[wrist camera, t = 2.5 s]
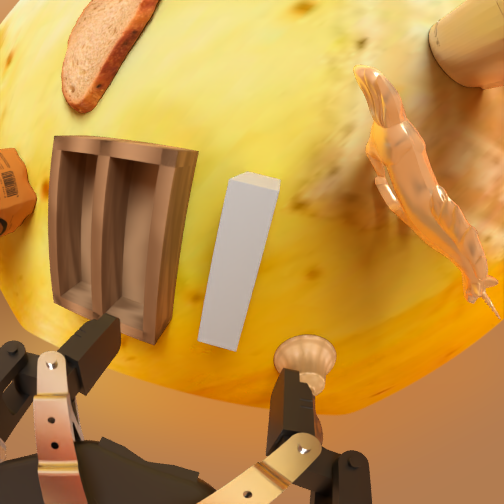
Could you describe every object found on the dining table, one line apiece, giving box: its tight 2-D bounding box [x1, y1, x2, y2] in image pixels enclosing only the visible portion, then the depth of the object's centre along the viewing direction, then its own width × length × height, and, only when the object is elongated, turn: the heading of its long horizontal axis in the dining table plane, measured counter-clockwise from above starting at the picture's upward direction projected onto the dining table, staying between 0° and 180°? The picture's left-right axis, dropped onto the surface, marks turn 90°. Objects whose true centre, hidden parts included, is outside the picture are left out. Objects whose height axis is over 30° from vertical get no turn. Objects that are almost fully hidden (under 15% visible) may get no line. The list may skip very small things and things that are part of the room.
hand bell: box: [274, 335, 336, 446], centre depth 28 cm, size 8×8×16 cm
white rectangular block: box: [198, 171, 281, 351], centre depth 26 cm, size 4×14×10 cm, turn 166°
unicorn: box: [353, 65, 501, 320], centre depth 19 cm, size 20×4×17 cm, turn 30°
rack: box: [48, 136, 199, 345], centre depth 29 cm, size 16×21×6 cm
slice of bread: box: [61, 0, 159, 113], centre depth 22 cm, size 18×18×4 cm
